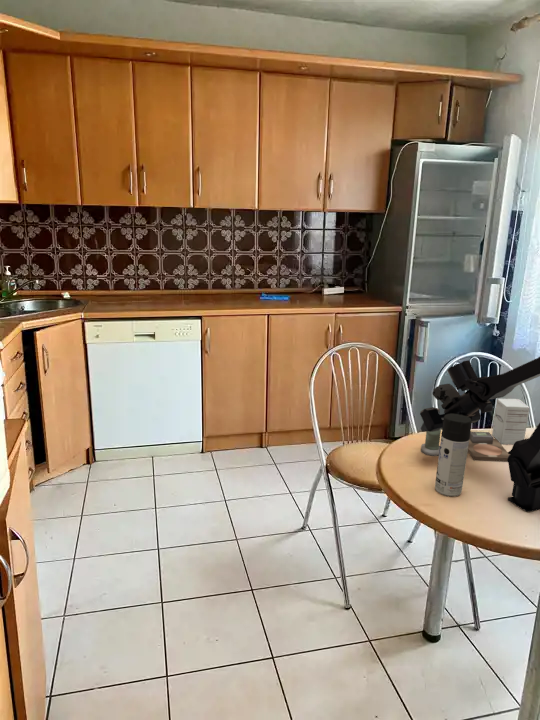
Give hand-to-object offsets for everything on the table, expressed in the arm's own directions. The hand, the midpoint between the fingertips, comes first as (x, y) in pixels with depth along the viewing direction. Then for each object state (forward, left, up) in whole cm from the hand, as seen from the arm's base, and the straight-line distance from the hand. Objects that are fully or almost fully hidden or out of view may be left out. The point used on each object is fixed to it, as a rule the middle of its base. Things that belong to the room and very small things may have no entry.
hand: (433, 427), depth 163 cm
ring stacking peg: (0, 0, -8) cm, 8 cm away
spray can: (-21, +11, -8) cm, 25 cm away
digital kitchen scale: (-5, -16, -8) cm, 18 cm away
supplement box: (-1, -29, -8) cm, 30 cm away
